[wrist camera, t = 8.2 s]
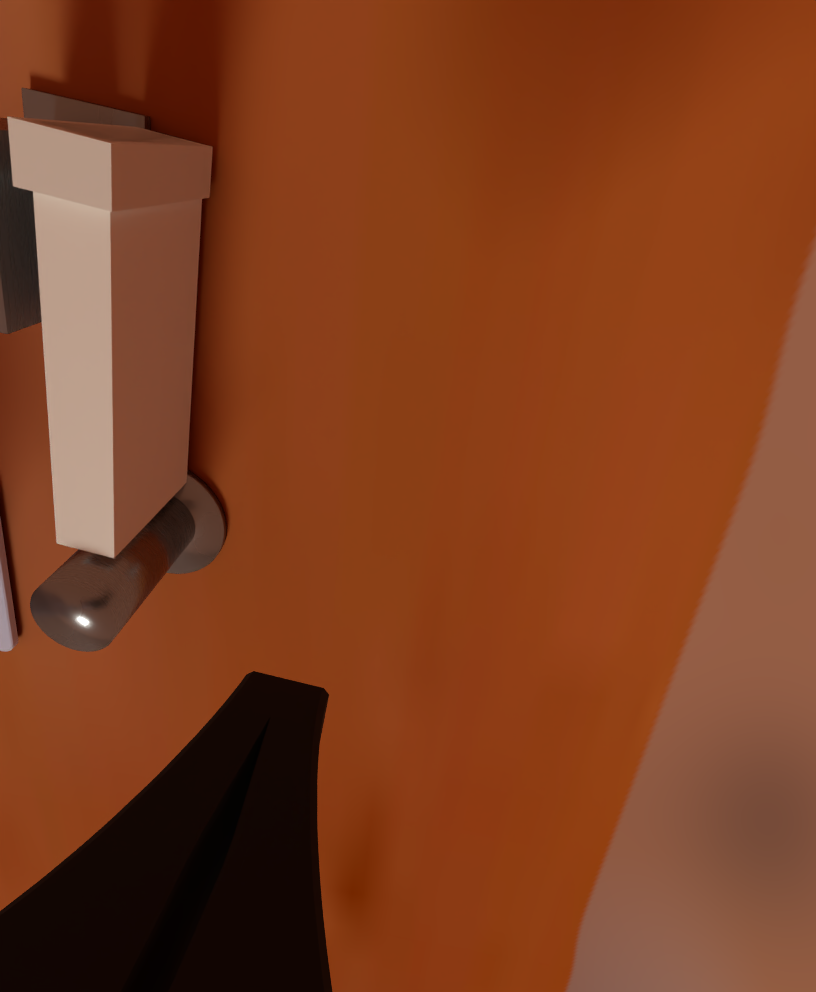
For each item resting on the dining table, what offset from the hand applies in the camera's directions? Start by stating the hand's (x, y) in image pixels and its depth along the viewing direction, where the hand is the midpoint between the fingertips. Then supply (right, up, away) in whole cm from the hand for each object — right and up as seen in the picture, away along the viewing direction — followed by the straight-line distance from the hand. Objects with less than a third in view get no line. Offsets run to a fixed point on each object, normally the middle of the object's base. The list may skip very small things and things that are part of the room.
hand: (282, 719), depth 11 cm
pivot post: (-6, +3, +11) cm, 13 cm away
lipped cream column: (-5, +9, +8) cm, 13 cm away
